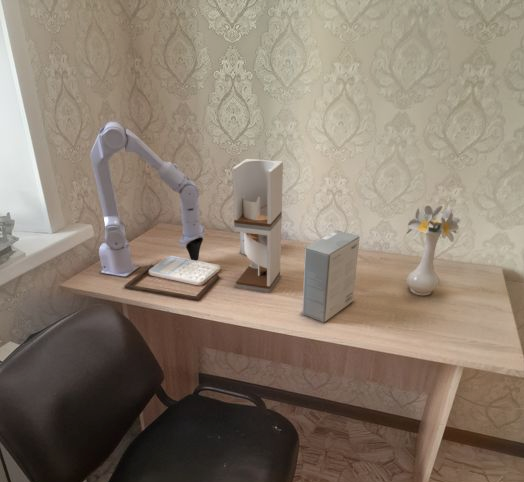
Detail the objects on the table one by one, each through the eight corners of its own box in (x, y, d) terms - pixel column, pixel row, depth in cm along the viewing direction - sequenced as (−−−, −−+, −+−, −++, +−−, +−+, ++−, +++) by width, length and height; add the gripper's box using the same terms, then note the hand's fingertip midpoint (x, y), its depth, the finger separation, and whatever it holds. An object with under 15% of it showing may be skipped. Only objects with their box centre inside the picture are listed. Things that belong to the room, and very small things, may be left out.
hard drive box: (331, 294, 138) (337, 229, 127) (353, 301, 134) (361, 236, 123) (300, 314, 128) (304, 246, 117) (324, 323, 124) (330, 254, 113)
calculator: (201, 286, 142) (201, 281, 141) (147, 275, 149) (146, 269, 147) (221, 269, 152) (221, 264, 151) (170, 259, 159) (169, 254, 157)
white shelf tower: (248, 272, 150) (246, 158, 130) (280, 276, 148) (282, 161, 128) (236, 287, 142) (232, 168, 122) (269, 292, 139) (270, 171, 119)
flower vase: (447, 282, 144) (467, 202, 130) (435, 308, 131) (456, 222, 117) (405, 273, 149) (421, 195, 135) (390, 297, 136) (405, 214, 122)
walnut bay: (124, 288, 141) (124, 285, 141) (151, 267, 154) (151, 264, 153) (197, 301, 135) (197, 298, 134) (219, 278, 147) (219, 275, 146)
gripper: (192, 229, 141) (195, 270, 148) (211, 214, 152) (214, 252, 160) (171, 226, 143) (176, 267, 150) (192, 211, 154) (195, 250, 162)
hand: (194, 259), depth 155 cm, fingers closed
